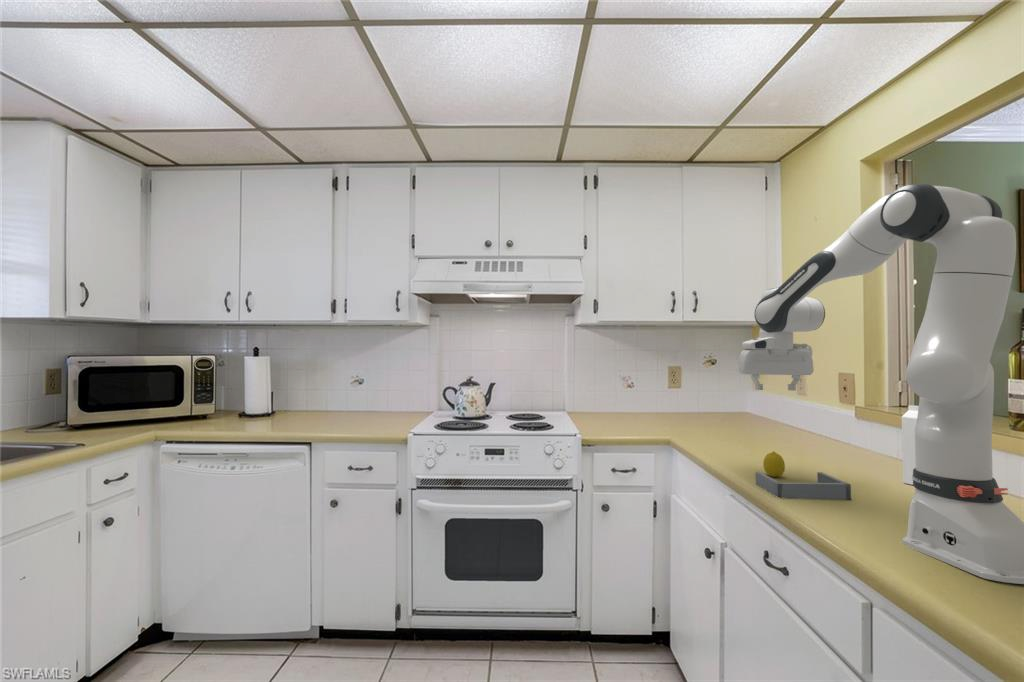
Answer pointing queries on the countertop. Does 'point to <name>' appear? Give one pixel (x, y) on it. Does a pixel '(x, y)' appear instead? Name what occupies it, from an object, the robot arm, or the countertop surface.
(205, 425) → the countertop surface
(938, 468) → the robot arm
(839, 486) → the box
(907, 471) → the milk
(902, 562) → the countertop surface
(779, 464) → the lemon
